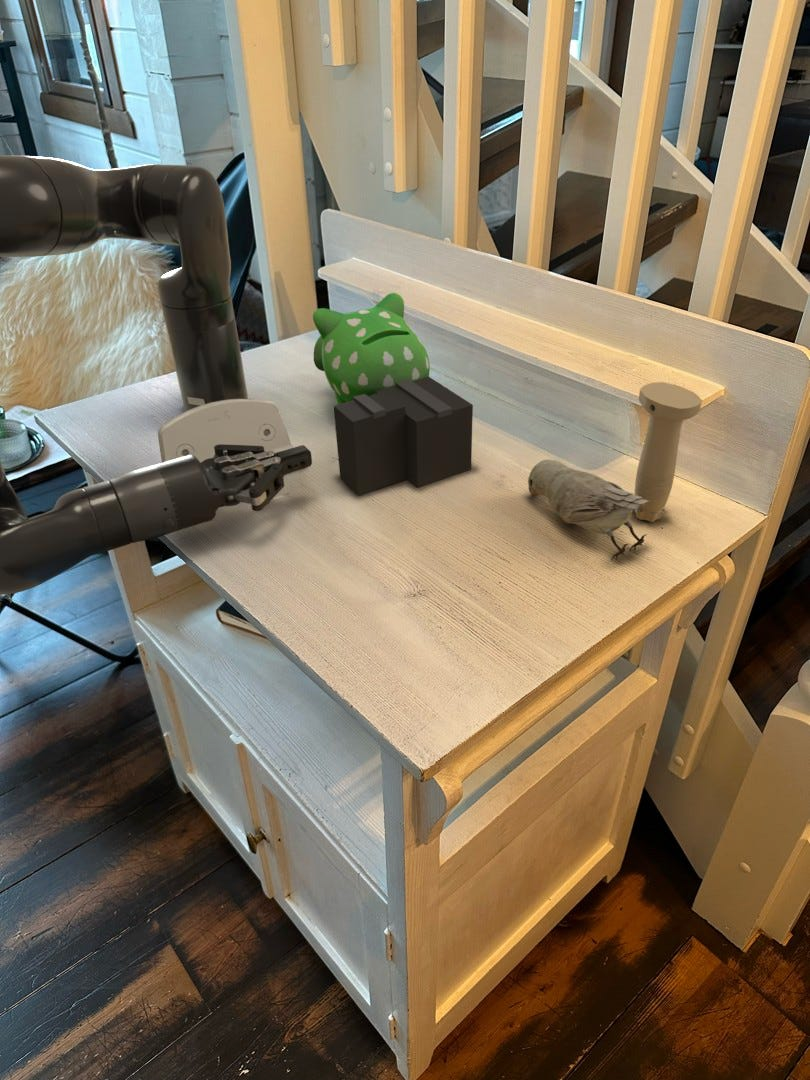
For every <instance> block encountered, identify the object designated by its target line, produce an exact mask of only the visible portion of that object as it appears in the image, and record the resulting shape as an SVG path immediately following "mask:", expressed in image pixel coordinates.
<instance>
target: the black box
mask: <svg viewBox="0 0 810 1080" xmlns="http://www.w3.org/2000/svg"><path fill="white" fill-rule="evenodd" d="M333 417H334V426H335V435H336V437H335V439H336V447H337V448H336V449H337V458H338V469H339V478H340V480H342V482H344V483H345V484H346V485H347V486H348V487H349V488H350V489H351V490H352V491H353V492H354V493H355V494H356V495H357V496H362V495H364V494H367V493H370V492H374V491H377V490H380V489H382V488H386V487H388V486H392V485H394V484H397V483H401V482H403V481H406V480H408V475H407V444H406V412H405V406H404V405H402V404H401V403H400V402H398V401H397V400H395V399H394V398H393V397H391V396H390V395H389V394H387V393H386V392H381V393H378V394H374V395H371V396H367V395H366V394H362V395H359V396H355V397H353V401H349V402H345V403H342V404H338V403H337V404H335V405H333Z"/></svg>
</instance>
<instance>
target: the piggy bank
mask: <svg viewBox="0 0 810 1080" xmlns="http://www.w3.org/2000/svg"><path fill="white" fill-rule="evenodd" d="M404 314H405V301H404V299H403V297H402V295H400V294H399V293H396V292H391V293H388V294H386V295H385V296H384V297H383V298H382V299H381V300H379V302H377V303H376V304H375V305H374V306H373V307H368V308H364V309H359V310H355V311H351V312H346V313H343V312H339V311H336V310H332V309H329V308H324V307H322V308H317V309H316V310H314V311H313V313H312V321H313V324H314V326H315V327H316V330H317V331H318V334H319V337H318V338H317V340H316V341H315V344H314V347H313V362H314V365H315V367H316V368H317V369H318V370H319V371H321V372H324V374H325V377H326V380H327V383H328V385H329V387H330V388H331V390H332V391H333V392H334V395H335V398H336V402H337V405H338V404H342V403H345V402H349V401H353V397H355V396H359V395H362V394H366V395H367V396H371V395H374V394H375V391H378V390H382V389H385V388H389V387H393V386H395V383H396V382H400V381H403V380H407V379H409V380H411V381H414V380H418V379H422V378H425V377H430V370H431V369H430V367H431V366H430V363H431V362H430V358H429V355H428V352H427V349H426V347H425V346H424V344H423V342H422V341H421V339H420V338H419V337H418V336H417V335H416V334H415V332H414V331H413V330H412V329H411V327H410V326H409V324H407V322H406V321H405V319H404Z"/></svg>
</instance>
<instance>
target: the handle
mask: <svg viewBox="0 0 810 1080" xmlns="http://www.w3.org/2000/svg"><path fill="white" fill-rule="evenodd" d="M638 393H639V394H638V401H639V403H640V405H641V406H642V408H643V409H644V410H645V411H646V412H647V413H648V414H649V418H648V423H647V428H646V433H645V437H644V441H643V445H642V449H641V453H640V457H639V461H638V465H637V470H636V475H635V482H634V495H636V496H640V497H642V498H640V499H643V500H647V501H649V502H646V503H644V504H645V505H639V506H638V508H637V509H633V512H634V513H635V517H636V518H637V519H638V520H644V521H647V522H650V523H653V522H655V521H657V520H660V519H662V518H663V515H664V513H665V511H666V509H665V507H666V505H667V503H668V500H669V498H670V494H671V492H672V487H673V484H674V479H675V474H676V466H677V459H678V452H679V445H680V437H681V432H682V431H681V430H682V425H683V422H684V420H688V419H691V418H693V417H695V416H697V415H698V414H699V413H700V411H701V407H702V402H703V400H702V398H701V397H700V396H699V395H698V394H696V393H695V392H694V391H692V390H690V389H687V388H685V387H684V386H681V385H676V384H673V383H670V382H669V383H668V382H663V381H658V382H650V383H646V384H645V385H643V386H641V387H640V389H639V392H638Z"/></svg>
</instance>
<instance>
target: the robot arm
mask: <svg viewBox="0 0 810 1080" xmlns="http://www.w3.org/2000/svg"><path fill="white" fill-rule="evenodd" d="M218 183H219V182H218V181H217V179H216V178H215V176H214V174H212V172H211V171H209V170H208V169H207V168H204V167H202V166H198V165H187V164H185V165H184V164H168V163H167V164H164V163H150V164H149V163H148V164H142V165H135V166H129V167H128V166H127V167H121V168H112V169H111V168H109V169H93V168H89V167H86V166H84V165H82V164H79V163H76V162H73V161H69V160H64V159H61V158H55V157H54V158H53V157H45V156H34V155H33V156H32V155H31V156H30V155H0V258H37V257H49V256H61V255H68V254H69V255H70V254H75V253H78V252H82V251H85V250H87V249H89V248H91V247H93V246H94V245H96V244H97V243H98V242H100V241H101V240H106V239H122V240H133V241H140V242H148V243H152V244H158V245H167V246H176V247H177V246H178V247H180V255H181V267H179V268H176V269H172V270H170V271H169V272H166V273H164V274H163V275H162V276H160V277H159V279H158V280H157V286H156V287H157V292H158V293H157V294H158V297H159V302H160V306H161V311H162V316H163V319H164V324H165V328H166V332H167V337H168V343H169V347H170V350H171V351H170V352H171V356H172V359H173V364H174V369H175V373H176V378H177V382H178V386H179V393H180V397H181V401H182V406H183V409H184V410H183V413H184V412H186V411H188V410H190V409H193V408H196V407H198V406H201V405H205V404H208V403H212V402H217V401H222V400H230V399H249V393H248V389H247V381H246V376H245V369H244V363H243V358H242V353H241V345H240V340H239V334H238V329H237V327H238V326H237V322H236V316H235V310H234V304H233V299H232V292H231V283H230V281H231V272H232V265H231V264H232V259H231V254H230V253H231V252H230V245H229V234H228V225H227V217H226V208H225V201H224V198H223V195H222V191H221V188H220V185H219V184H218ZM214 450H215V455H214V457H213V458H209V459H206V460H204V461H203V462H201V463H200V461H199V460H198V459H197V458H196V457H195V456H193V455H187V456H183V457H180V458H176V459H173V460H169V461H166V462H162V461H161V462H159V463H156V464H152V465H148V466H144V467H141V468H138V469H135V470H132V471H131V470H130V471H128V472H126V473H123V474H121V475H119V476H117V477H114V478H111V479H109V480H104V481H101V482H98V483H94V484H91V485H87V486H83V487H80V488H77V489H73V490H71V491H68V492H66V493H64V494H62V495H61V496H60V497H58V498H57V499H56V502H55V504H54V507H53V508H52V509H50V510H49V511H46V512H44V513H41V514H39V515H36V516H34V517H31V518H29V516H28V514H27V512H26V510H25V509H24V507H23V504H22V503H21V501H20V499H19V497H18V495H17V493H16V491H15V490H14V488H13V486H12V485H11V483H10V481H9V479H8V478H7V476H6V475H7V474H6V471H5V468H4V465H3V461H2V459H1V458H0V596H4V595H12V594H18V593H21V592H22V593H23V592H25V591H27V590H31V589H33V588H36V587H38V586H40V585H42V584H45V583H46V582H48V581H50V580H51V579H53V578H55V577H57V576H59V575H60V574H62V573H64V572H67V571H68V570H70V569H72V568H74V567H75V566H77V565H79V564H81V562H83V561H84V560H86V559H88V558H90V557H92V556H95V555H99V554H103V553H107V552H109V551H113V550H115V549H118V548H121V547H126V546H128V545H131V544H134V543H138V542H145V541H149V540H154V539H157V538H161V537H164V536H166V535H170V534H173V533H176V532H179V531H183V530H185V529H188V528H191V527H195V526H197V525H201V524H204V523H207V522H210V521H213V520H214V519H215V518H216V512H217V511H218V509H220V508H224V507H234V506H237V505H239V504H240V503H244V504H248V505H251V511H253V512H261V511H262V510H264V508H265V507H266V506H268V504H269V503H270V502H271V501H272V500H273V499H274V498H275V497H276V496H277V495H278V494H279V493H280V492H281V490H283V489H284V487H285V480H284V476H285V475H288V474H292V473H295V472H297V471H301V470H304V469H308V468H310V467H311V466H312V464H313V459H312V452H311V450H310V449H308V448H307V446H306V445H304V444H302V445H301V444H300V445H298V446H295V447H293V448H291V449H287V450H284V451H281V452H277V453H275V452H274V451H264V447H263V446H250V445H224V444H219V445H216V446H214Z"/></svg>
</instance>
